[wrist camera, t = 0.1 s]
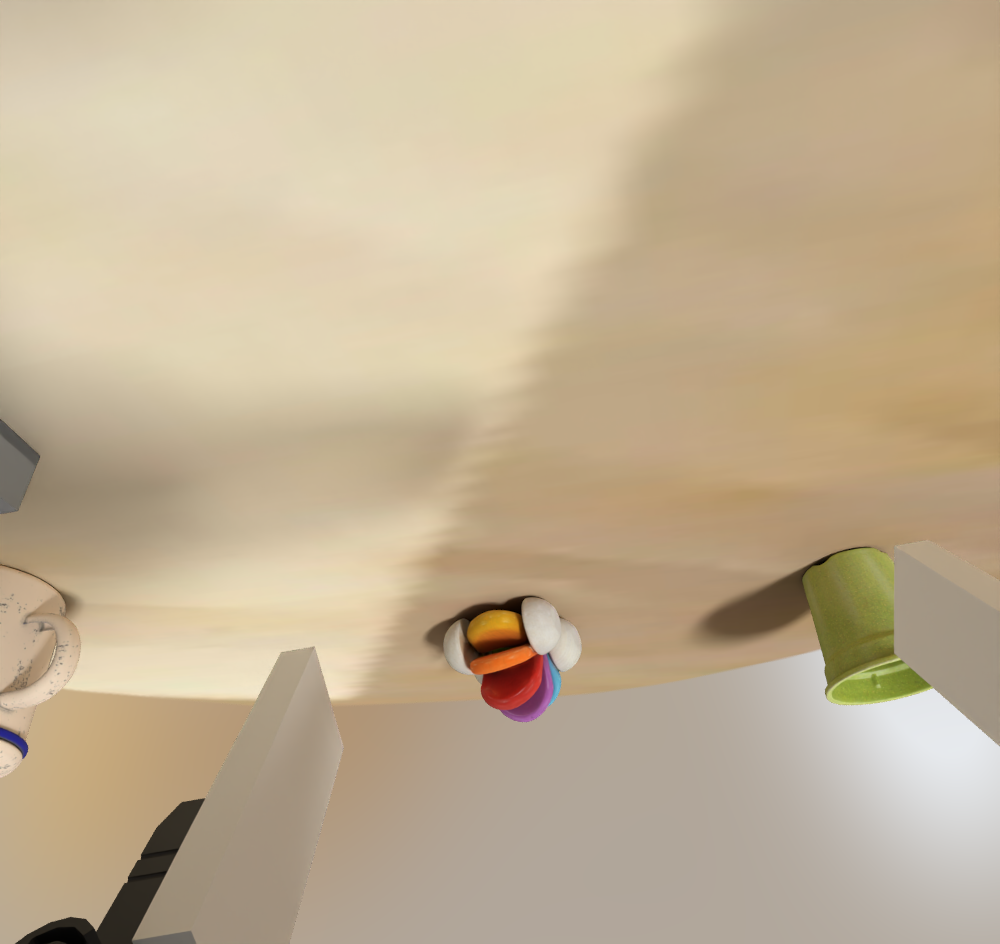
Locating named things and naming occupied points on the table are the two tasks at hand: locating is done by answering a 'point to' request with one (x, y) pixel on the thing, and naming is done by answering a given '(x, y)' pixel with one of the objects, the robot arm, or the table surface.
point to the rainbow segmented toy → (515, 656)
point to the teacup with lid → (30, 656)
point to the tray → (14, 469)
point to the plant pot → (859, 628)
